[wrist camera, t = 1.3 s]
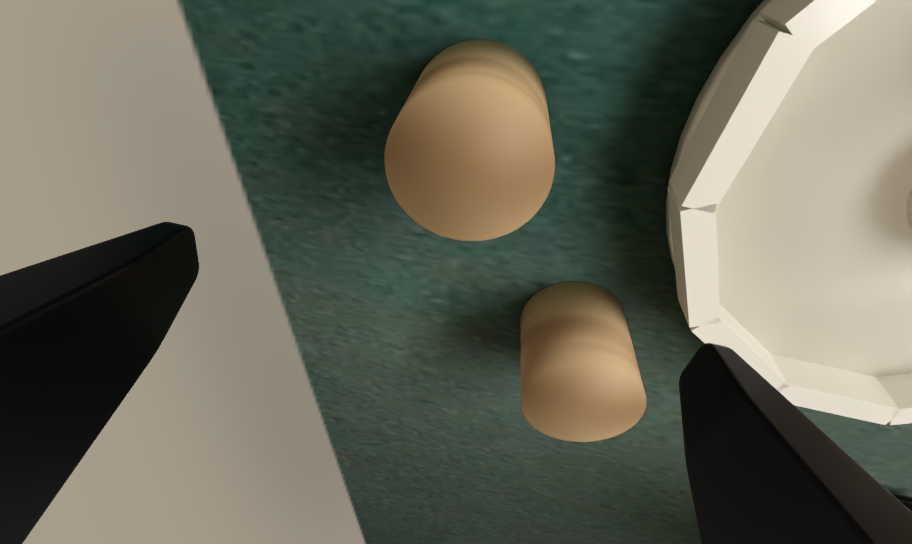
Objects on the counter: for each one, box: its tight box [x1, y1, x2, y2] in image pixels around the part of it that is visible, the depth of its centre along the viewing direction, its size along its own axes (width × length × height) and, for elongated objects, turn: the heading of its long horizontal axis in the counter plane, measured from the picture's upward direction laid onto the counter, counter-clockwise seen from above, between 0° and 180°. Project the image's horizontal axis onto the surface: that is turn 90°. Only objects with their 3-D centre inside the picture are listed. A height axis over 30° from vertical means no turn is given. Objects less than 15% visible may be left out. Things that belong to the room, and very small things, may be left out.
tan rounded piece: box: [384, 39, 555, 241], centre depth 15 cm, size 4×4×4 cm
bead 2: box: [521, 282, 646, 442], centre depth 20 cm, size 4×4×4 cm
